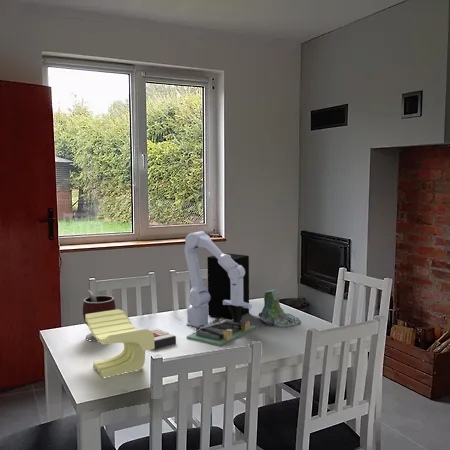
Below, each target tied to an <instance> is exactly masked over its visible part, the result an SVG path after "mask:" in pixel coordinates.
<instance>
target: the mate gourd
mask: <svg viewBox="0 0 450 450" xmlns="http://www.w3.org/2000/svg"><path fill="white" fill-rule="evenodd" d="M86 292H88V294H89V297H86V298H84V299H83V305H82V316H83V320H84V324H86V326H87V327H88V328H90V327H89V326H88V323H87V322H86V319H85V314H90V313H97V312H103V311H110V310H117V308H116V302H115V297H114V296H110V295H95V294H94V292H92V291H91V290H89V289H87V291H86ZM86 339H88V340H91V341H98V340H97V339H96V338H95V337H94V336H93V335H92V332H91V333H89V334H87V335H86V336H85V340H86ZM88 340H87V341H88ZM91 341H90V342H91Z"/></svg>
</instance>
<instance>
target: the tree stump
mask: <svg viewBox="0 0 450 450" xmlns="http://www.w3.org/2000/svg"><path fill="white" fill-rule="evenodd" d="M263 296H264V297H263V301H264V303H263V308H262V310H261V312H259V313H258V315H257V316H258V318H259V319H260V320H262V321H263V322H264V323H265V324H266V325H267V326H270V327H277V328H291V327H297V326H298V325H300V324H301V319H300V318H299V317H297V316H295V315H293V314H291V313H285V311H284V309H283V308H282V307H281V305H280V298H281V297H279V293H278V288H274V289H271V290H267V291H265V292H264V295H263Z"/></svg>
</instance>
